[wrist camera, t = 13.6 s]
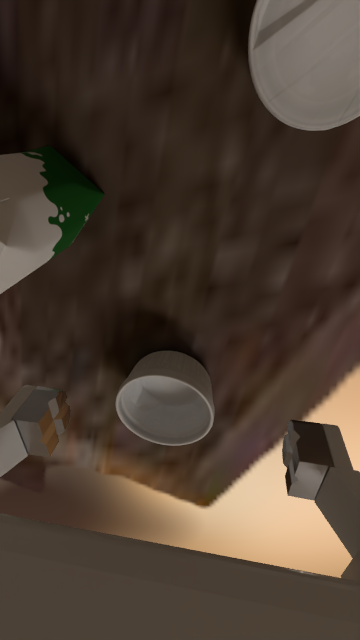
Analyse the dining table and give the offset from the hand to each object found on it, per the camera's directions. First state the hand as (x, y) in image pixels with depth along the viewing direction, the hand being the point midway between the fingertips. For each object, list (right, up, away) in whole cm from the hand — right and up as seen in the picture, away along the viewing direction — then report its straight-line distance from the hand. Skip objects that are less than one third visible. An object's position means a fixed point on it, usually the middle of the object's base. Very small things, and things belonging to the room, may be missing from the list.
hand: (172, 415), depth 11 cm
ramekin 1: (-1, -5, +36) cm, 36 cm away
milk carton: (-13, +18, +24) cm, 32 cm away
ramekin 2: (+11, +26, +14) cm, 32 cm away
